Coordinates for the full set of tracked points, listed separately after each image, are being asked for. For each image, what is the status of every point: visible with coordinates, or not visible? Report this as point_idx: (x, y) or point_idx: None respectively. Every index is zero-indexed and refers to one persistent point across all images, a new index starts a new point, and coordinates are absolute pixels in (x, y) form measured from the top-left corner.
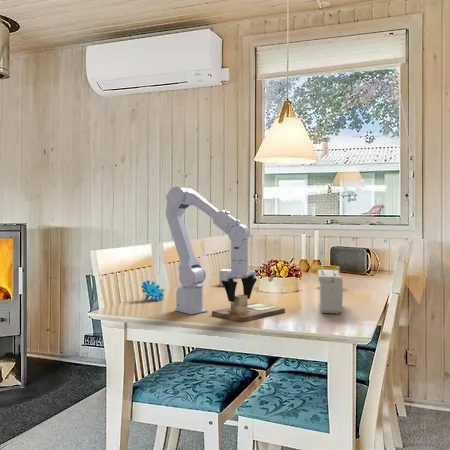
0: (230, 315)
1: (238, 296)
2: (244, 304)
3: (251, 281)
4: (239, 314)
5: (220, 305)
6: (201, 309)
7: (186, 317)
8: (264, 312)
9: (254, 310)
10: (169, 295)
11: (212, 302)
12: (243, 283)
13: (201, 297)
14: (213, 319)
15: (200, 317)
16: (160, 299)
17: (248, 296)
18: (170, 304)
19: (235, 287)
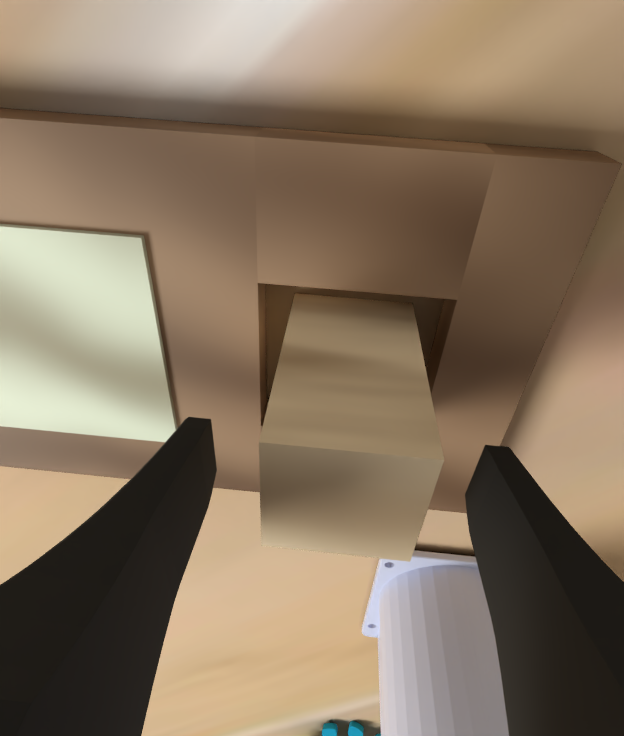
0: (544, 337)
1: (420, 480)
2: (331, 369)
3: (71, 668)
4: (458, 295)
5: (189, 572)
6: (434, 574)
7: (620, 546)
8: (162, 142)
9: (184, 299)
10: (232, 731)
11: (173, 618)
12: (148, 680)
13: (449, 667)
14: (598, 413)
15: (576, 499)
16: (335, 727)
17: (201, 443)
18: (368, 686)
19: (601, 637)
